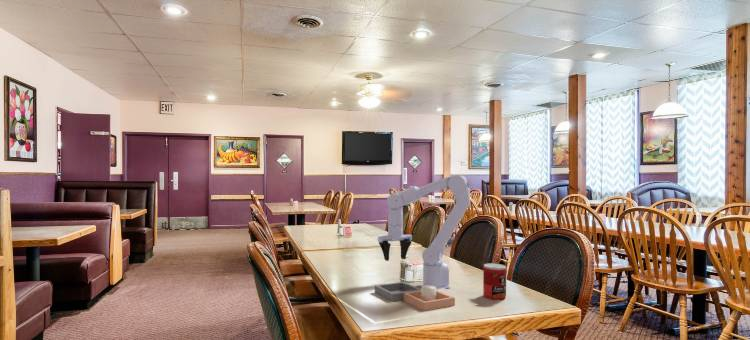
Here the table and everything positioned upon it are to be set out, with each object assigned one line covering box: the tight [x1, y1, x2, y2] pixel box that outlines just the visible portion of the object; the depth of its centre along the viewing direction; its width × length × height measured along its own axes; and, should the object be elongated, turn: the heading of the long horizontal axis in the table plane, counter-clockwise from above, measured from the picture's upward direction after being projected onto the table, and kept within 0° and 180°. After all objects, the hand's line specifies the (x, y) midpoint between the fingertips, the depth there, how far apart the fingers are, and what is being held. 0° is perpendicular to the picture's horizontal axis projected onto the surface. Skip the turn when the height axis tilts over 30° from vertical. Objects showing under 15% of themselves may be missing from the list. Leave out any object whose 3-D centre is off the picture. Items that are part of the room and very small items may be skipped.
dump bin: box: [402, 289, 456, 312], centre depth 139 cm, size 12×12×3 cm
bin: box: [374, 281, 421, 303], centre depth 148 cm, size 12×12×3 cm
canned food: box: [482, 262, 507, 301], centre depth 149 cm, size 8×8×11 cm
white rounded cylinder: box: [420, 285, 437, 301], centre depth 139 cm, size 5×5×5 cm
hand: (395, 259), depth 165 cm, fingers open, 7 cm apart
